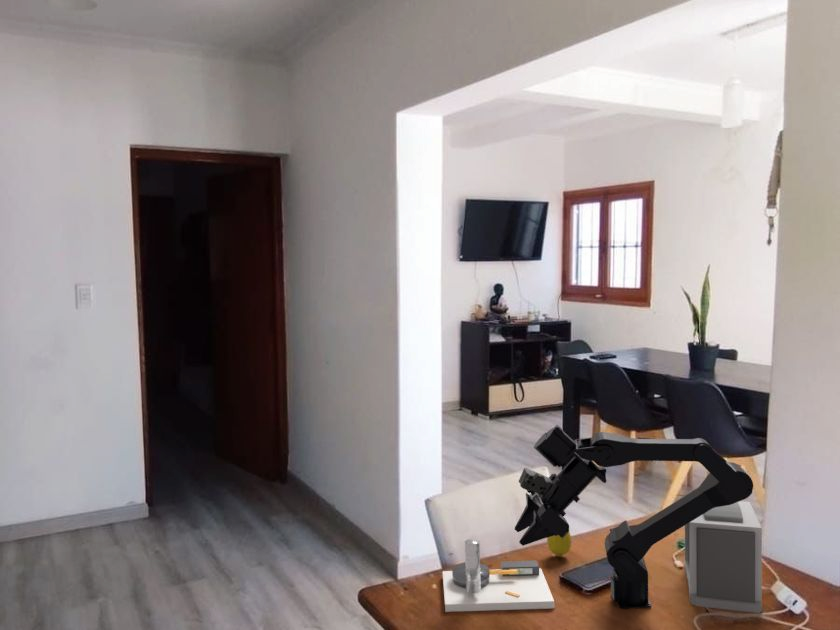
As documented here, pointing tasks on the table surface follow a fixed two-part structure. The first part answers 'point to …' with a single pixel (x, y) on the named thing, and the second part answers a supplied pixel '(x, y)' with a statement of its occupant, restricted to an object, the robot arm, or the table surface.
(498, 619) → the table surface
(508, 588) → the stand
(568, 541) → the lemon
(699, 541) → the alarm clock
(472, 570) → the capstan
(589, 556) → the table surface
